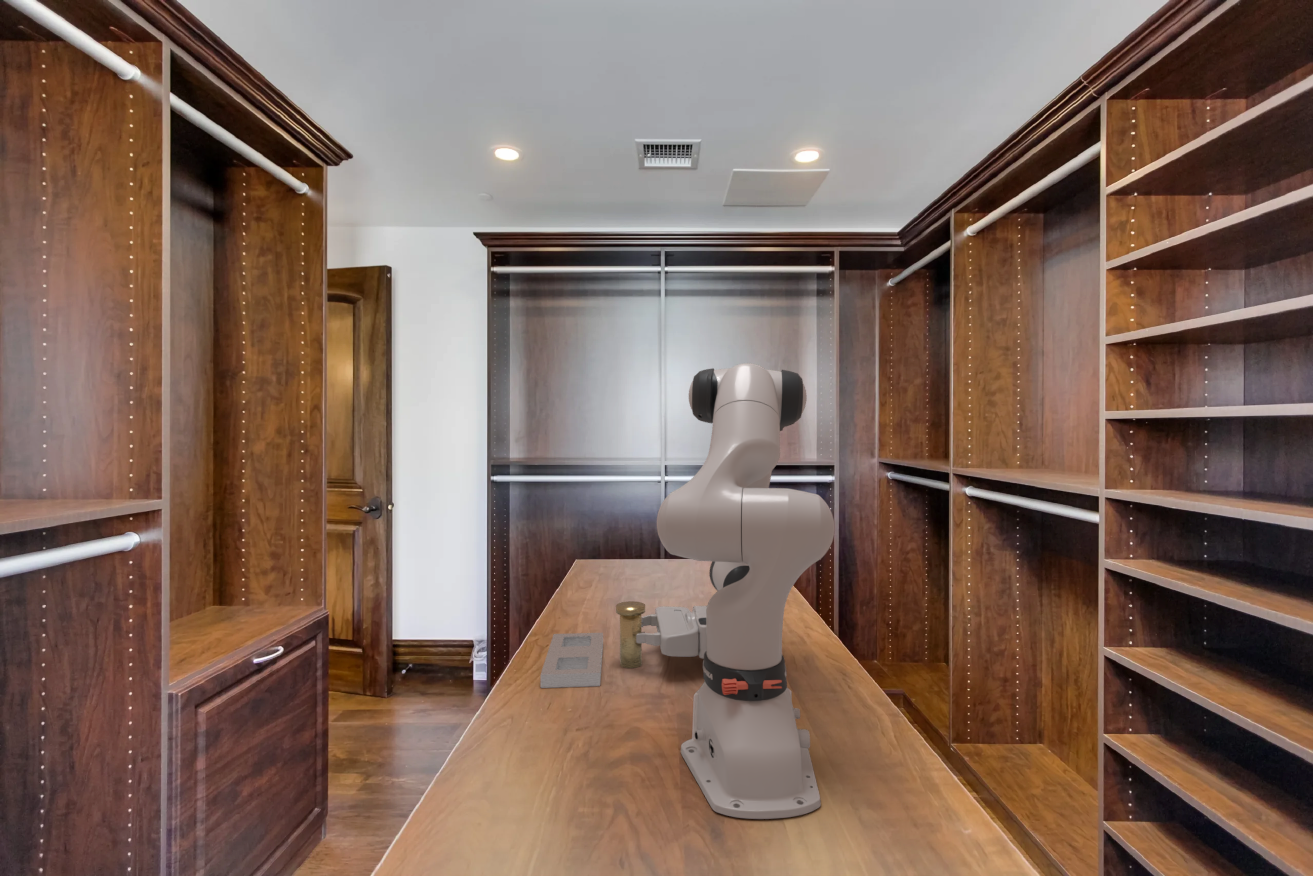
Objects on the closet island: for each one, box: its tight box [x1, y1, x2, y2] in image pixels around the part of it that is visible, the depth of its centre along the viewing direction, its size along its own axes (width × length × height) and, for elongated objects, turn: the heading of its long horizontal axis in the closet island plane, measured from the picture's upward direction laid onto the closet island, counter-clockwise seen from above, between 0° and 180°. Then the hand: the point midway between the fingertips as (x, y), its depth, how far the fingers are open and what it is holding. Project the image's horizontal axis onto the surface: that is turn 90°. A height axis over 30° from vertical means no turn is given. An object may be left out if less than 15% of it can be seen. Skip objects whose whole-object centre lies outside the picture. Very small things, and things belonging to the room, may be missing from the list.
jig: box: [540, 632, 604, 689], centre depth 119 cm, size 22×11×2 cm, turn 4°
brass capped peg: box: [615, 601, 646, 669], centre depth 118 cm, size 6×6×12 cm
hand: (635, 629), depth 119 cm, fingers open, 8 cm apart
